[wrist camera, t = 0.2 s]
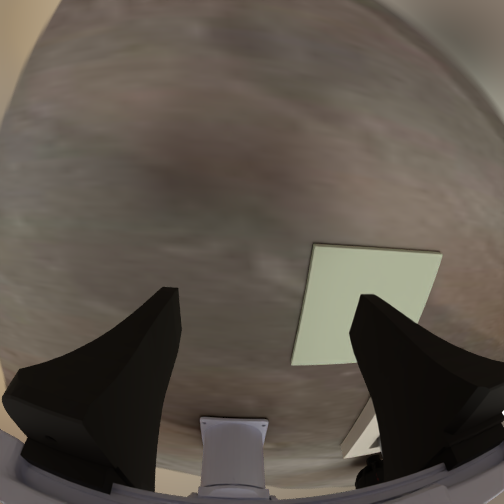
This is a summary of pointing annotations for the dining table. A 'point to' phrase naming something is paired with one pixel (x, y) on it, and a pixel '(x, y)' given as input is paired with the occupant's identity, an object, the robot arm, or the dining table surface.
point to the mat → (356, 295)
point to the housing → (362, 434)
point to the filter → (371, 473)
